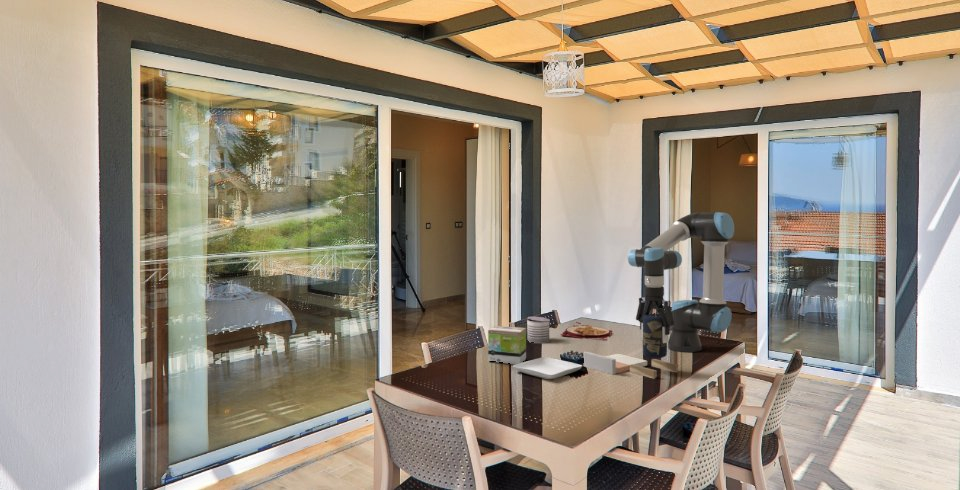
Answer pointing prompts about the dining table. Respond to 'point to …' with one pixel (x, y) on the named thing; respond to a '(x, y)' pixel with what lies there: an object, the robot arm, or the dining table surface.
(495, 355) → the tea box
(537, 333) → the can
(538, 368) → the salad plate
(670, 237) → the robot arm
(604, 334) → the plate with food
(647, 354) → the canister
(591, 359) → the board
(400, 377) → the dining table surface
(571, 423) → the dining table surface
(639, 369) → the rails
